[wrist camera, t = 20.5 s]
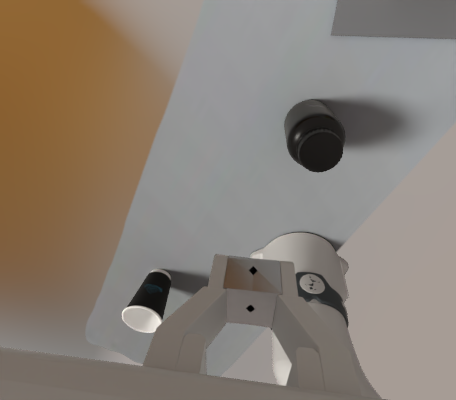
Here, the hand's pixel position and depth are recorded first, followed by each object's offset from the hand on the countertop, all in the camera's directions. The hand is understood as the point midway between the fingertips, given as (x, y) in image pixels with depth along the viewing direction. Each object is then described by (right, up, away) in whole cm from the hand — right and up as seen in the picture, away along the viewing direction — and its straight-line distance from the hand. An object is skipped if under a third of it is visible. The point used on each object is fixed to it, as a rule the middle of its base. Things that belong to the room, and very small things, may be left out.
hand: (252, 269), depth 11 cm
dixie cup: (-16, -14, +50) cm, 55 cm away
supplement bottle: (+11, +14, +29) cm, 34 cm away
